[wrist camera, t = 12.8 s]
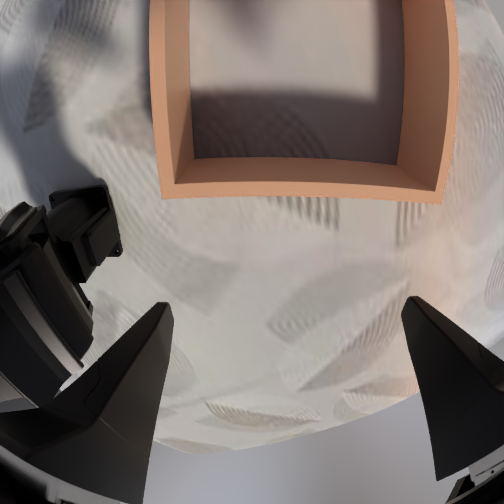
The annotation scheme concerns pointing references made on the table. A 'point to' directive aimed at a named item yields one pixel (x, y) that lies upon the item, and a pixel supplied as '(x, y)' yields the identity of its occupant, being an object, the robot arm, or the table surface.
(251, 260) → the table surface
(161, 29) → the terracotta box
